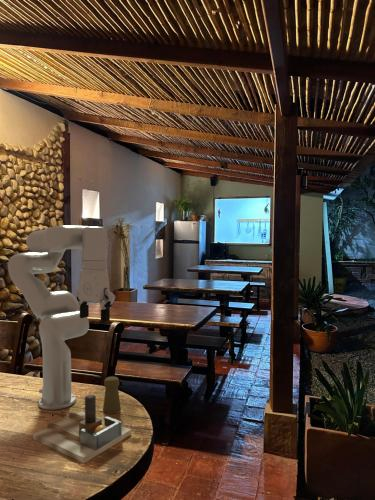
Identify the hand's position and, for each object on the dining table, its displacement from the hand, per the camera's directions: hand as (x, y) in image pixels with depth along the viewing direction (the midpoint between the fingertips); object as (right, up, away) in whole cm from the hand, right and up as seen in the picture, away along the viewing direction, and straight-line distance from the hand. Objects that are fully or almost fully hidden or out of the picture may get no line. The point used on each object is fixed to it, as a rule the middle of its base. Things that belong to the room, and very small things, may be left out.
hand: (94, 319), depth 124 cm
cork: (+4, -33, +10) cm, 34 cm away
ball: (+5, -30, -13) cm, 33 cm away
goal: (+5, -32, -13) cm, 35 cm away
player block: (+1, -32, -10) cm, 33 cm away
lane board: (-2, -33, -8) cm, 34 cm away
